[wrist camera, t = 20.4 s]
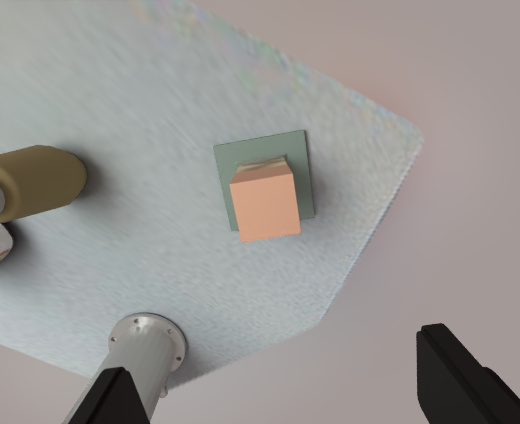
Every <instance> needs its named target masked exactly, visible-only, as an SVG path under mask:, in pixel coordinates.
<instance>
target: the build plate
mask: <svg viewBox="0 0 520 424" xmlns="http://www.w3.org/2000/svg"><path fill="white" fill-rule="evenodd" d="M213 149H214V154H215V158H216V163H217V167H218V172H219V176H220V181H221V185H222V190H223V195H224V199H225V204H226V208H227V213H228V217H229V222H230V227H231V231H234V230H239V228H238V223H237V219H236V214H235V209H234V204H233V200H232V195H231V190H230V186H229V184H230V182H231V180H232V178H233V176H234V175H235V173H236V171H237V169H238V167H239V166H241V165H246V164H252V163H258V162H264V161H269V160H275V159H281V158H284V159H285V161H286V163H287V165H288V166H289V168H290V170H291V171H292V173H293V180H294V187H295V193H296V200H297V207H298V214H299V220H302V219H308V218H314V217H315V215H314V207H313V199H312V191H311V183H310V175H309V167H308V159H307V151H306V143H305V135H304V130H300V131H294V132H289V133H283V134H278V135H272V136H267V137H261V138H256V139H250V140H244V141H239V142H233V143H228V144H222V145H217V146H213Z"/></svg>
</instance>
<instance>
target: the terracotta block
mask: <svg viewBox="0 0 520 424" xmlns="http://www.w3.org/2000/svg"><path fill="white" fill-rule="evenodd" d="M229 186H230V190H231V195H232V200H233V204H234V209H235V214H236V219H237V223H238V228H239V233H240V237H241V242H248V241H254V240H260V239H266V238H273V237H279V236H285V235H291V234H298V233H301V228H300V221H299V214H298V207H297V200H296V193H295V187H294V180H293V173H292V171H291V170H290V168H289V166H288V165H287V164H286V165H280V166H275V167H269V168H263V169H258V170H252V171H246V172H240V173H235V175H234V176H233V178H232V180H231V182H230V184H229Z"/></svg>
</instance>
